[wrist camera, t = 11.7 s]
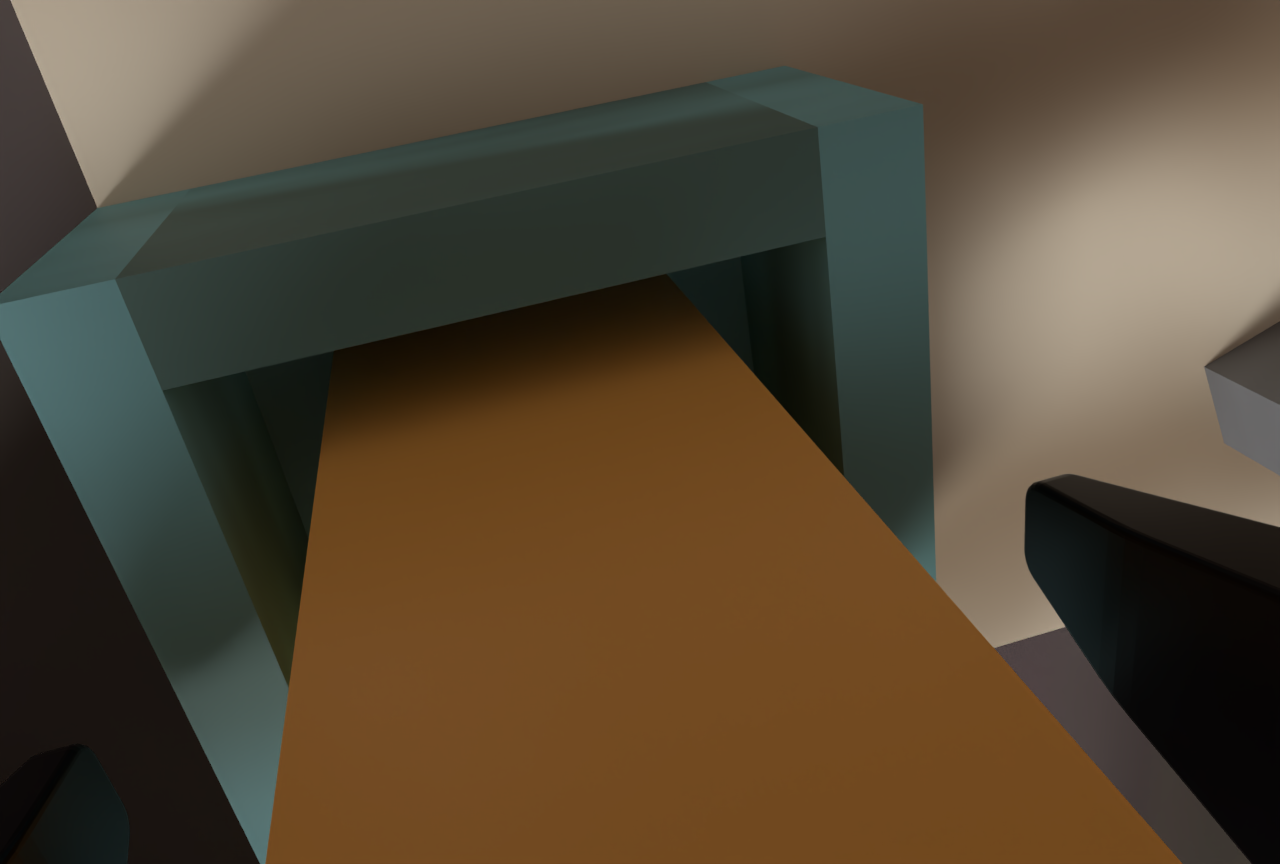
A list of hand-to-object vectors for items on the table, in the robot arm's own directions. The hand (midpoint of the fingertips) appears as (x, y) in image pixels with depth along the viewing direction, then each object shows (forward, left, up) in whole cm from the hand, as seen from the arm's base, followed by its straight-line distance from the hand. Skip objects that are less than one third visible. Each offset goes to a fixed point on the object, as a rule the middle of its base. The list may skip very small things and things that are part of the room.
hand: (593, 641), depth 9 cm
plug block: (0, 0, -4) cm, 4 cm away
